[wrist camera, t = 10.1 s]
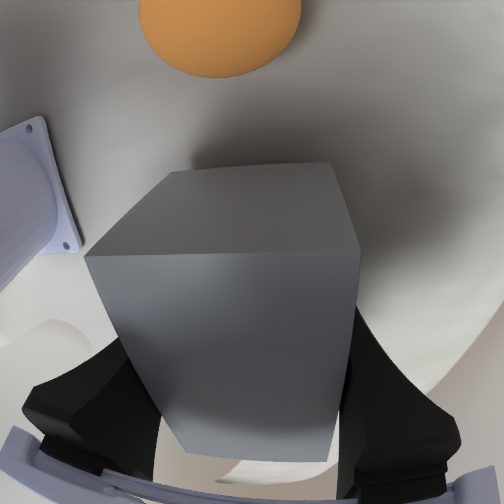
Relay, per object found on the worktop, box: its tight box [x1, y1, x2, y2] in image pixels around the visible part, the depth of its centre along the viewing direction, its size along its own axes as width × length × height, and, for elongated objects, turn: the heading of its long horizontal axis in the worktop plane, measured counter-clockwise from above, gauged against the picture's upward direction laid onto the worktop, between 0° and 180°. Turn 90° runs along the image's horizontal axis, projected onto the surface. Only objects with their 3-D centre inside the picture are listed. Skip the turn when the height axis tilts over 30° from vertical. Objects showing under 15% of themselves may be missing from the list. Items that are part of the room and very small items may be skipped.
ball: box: [139, 0, 301, 78], centre depth 8 cm, size 5×5×5 cm
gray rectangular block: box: [84, 162, 361, 462], centre depth 12 cm, size 6×10×6 cm, turn 6°
